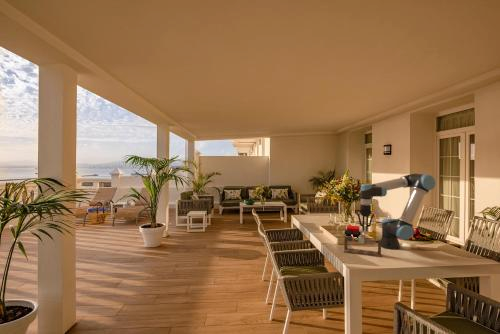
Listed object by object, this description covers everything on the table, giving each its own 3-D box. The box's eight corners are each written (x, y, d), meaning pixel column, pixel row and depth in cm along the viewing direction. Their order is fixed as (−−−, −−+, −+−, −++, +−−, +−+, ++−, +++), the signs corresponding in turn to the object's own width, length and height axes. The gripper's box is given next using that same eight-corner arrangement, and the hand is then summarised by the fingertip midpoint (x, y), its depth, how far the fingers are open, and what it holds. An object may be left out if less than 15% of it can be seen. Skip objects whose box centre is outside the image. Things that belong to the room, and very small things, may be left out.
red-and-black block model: (343, 230, 262) (345, 224, 285) (343, 240, 262) (345, 233, 285) (361, 232, 256) (361, 226, 279) (360, 242, 256) (361, 235, 279)
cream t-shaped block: (364, 242, 228) (364, 229, 227) (364, 243, 224) (364, 231, 223) (358, 241, 229) (359, 229, 229) (358, 243, 225) (358, 230, 225)
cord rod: (379, 243, 223) (379, 239, 223) (379, 244, 220) (379, 240, 220) (346, 239, 232) (346, 235, 232) (345, 240, 229) (345, 236, 229)
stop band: (354, 240, 230) (354, 236, 230) (354, 241, 227) (354, 237, 227) (352, 240, 230) (353, 236, 230) (352, 241, 227) (352, 237, 227)
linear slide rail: (380, 253, 225) (381, 238, 225) (380, 257, 218) (381, 241, 217) (344, 249, 235) (345, 235, 235) (343, 252, 228) (344, 237, 227)
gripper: (356, 204, 223) (355, 235, 224) (375, 205, 218) (374, 237, 219) (356, 203, 230) (356, 233, 231) (374, 204, 225) (374, 235, 226)
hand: (364, 235), depth 225 cm, fingers closed
